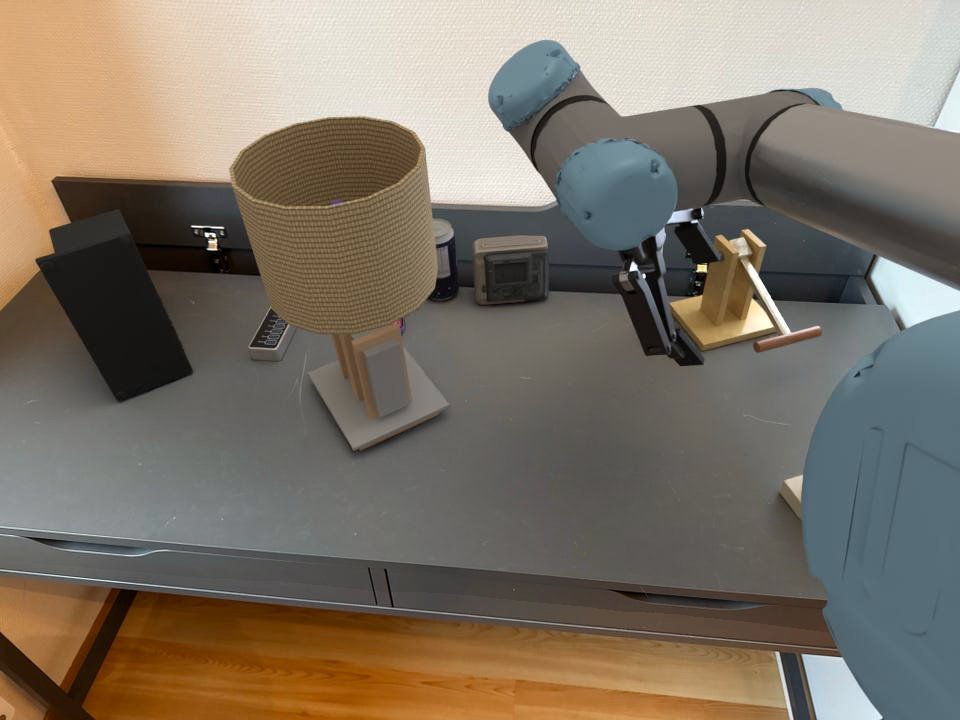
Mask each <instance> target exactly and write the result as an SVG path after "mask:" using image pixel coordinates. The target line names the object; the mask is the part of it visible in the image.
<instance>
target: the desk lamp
mask: <svg viewBox="0 0 960 720" xmlns="http://www.w3.org/2000/svg"><path fill="white" fill-rule="evenodd" d="M426 153H427V152H426V147H425V145H424V143H423V142H422V140H421V139H420V137H419V135H418V134H417V133H416V131H414V130H411V129H410V128H407V127H405V126H403V125H402V124H399V123H397V122H396V121H392V120H388V119H382V118H375V117H371V116H363V115H358V116H357V115H356V116H328V117H327V116H326V117H322V118H317V119H311V120H305V121H301V122H296V123H293V124H290V125H287V126H285V127H281V128H279V129H277V130H275V131H271V132H269V133H266V134H263V135H262V136H261V137H259V138H258V139H256V140H254V141H253V142H252V143H250V144H248V145H247V146H246V147H244V148H243V149H241V150H240V151H239V153H238V154H237V156H236V158H235V159H234V160H233V162H232V164H230V166H229V168H228V171H229V176H230V181H231V187H232V191H233V193H234V196H235V199H236V203H237V207H238V209H239V212H240V215H241V218H242V221H243V225H244V228H245V230H246V234H247V237H248V240H249V243H250V247H251V249H252V252H253V255H254V259H255V262H256V265H257V268H258V271H259V274H260V277H261V281H262V283H263V287H264V290H265V293H266V297H267V300H268V303H269V306H270V307H271V309H272V310H273V311H274V312H275V313H276V314H277V315H279V316H280V317H281V318H282V319H283V320H284V321H285V322H286V323H288V324H289V325H291V326H294V327H297V329H301V330H305V331H308V332H311V333H313V334H317V335H331V338H332V342H333V346H334V349H335V353H336V354H335V355H336V358H337V360H334V361H333V362H330V363H328V364H325V365H323V366H321V367H318V368H316V369H313V370H311V371H308V372H307V375H308V377H309V379H310V380H311V382H312V384H313V385H314V387H315V389H316V391H317V392H318V394H319V395H320V397H321V399H322V400H323V403H324V404H325V405H326V407H327V409H328V410H329V412H330V414H331V415H332V417H333V419H334V420H335V422H336V424H337V425H338V427H339V429H340V431H341V432H342V433H343V434H342V435H344V437H345V439H346V440H347V443H348V444H349V445H350V448H351V449H352V451H353V452H356V451H358V450H359V451H360V452H361V451H363V450H365V449H368V448H369V447H372V446H374V445H376V444H378V443H381V442H383V441H385V440H387V439H389V438H391V437H393V436H396V435H398V434H401V433H403V432H405V431H407V430H409V429H411V428H413V427H416V426H418V425H420V424H422V423H424V422H426V421H428V420H431V419H432V418H435V417H438V416H439V415H440V412H443V411H445V410H446V409H449V408H450V407H451V406H450V403H449V402H448V400H447V399H446V397H444V396H443V394H442V393H441V392H440V391H439V389H438V388H437V386H436V385H435V384H434V383H433V382H432V380H431V379H430V378H429V376H428V375H427V374H426V373H425V372H424V370H423V369H422V368H421V366H420V365H419V363H418V362H417V361H416V360H415V358H414V357H413V356H412V355H411V353H410V352H409V350H407V348H406V347H405V346H404V343H403V337H402V332H401V330H400V327H399V325H398V324H397V323H396V324H393V323H394V322H396V321H398V320H400V319H401V318H403V317H404V318H405V317H406V316H409V315H410V314H412V313H414V312H415V311H418V309H420V307H421V306H422V305H424V303H425V302H426V300H427V299H428V298H429V297H428V296H429V295H430V294H431V293H432V292H433V291H434V289H435V284H436V278H437V272H438V263H437V254H436V245H435V235H434V226H433V219H434V217H433V210H432V209H433V208H432V200H431V191H430V190H431V189H430V181H429V172H428V161H427V154H426ZM391 324H393V325H391ZM389 325H391V326H389Z"/></svg>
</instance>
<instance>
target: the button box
mask: <svg viewBox="0 0 960 720" xmlns="http://www.w3.org/2000/svg"><path fill="white" fill-rule="evenodd" d="M802 481H803V474H800V475H798V476H793V477H790V478H787V479H784V480H783V481H782V484H781V486H780V489H779V491H778V492H779V494H780V495H781V496H782V498H783V499H784V500H785V502H786V503H787V504H788V505H789V507H790V508H791V510H792V511H793V512H794V514H795V515H796V516H797V518H798V519H799V520H800V521H801V522H802V516H801V493H802Z"/></svg>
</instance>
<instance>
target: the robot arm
mask: <svg viewBox="0 0 960 720" xmlns="http://www.w3.org/2000/svg"><path fill="white" fill-rule="evenodd" d="M581 68H582V67H581V65H580V64H579V62H577V61H575V60H574V58H573V57H572V56H571V55H570V53H569V51H567V49H566V48H565V47H564V45H562V44H561V43H560V42H558V41H556V40H552V39H541V40H537V41H534V42H532V43H529V44H527V45H526V46H523V47H522V48H520V49H519V50H518V51H516V52H515V53H514V54H513V55H512V56H511V57H510V58H509V59H508V60H506V61H505V62H504V63H503V64H502V66H501V67H500V68H499V69H498V71H496V74H495V75H494V77H493V78H492V80H491V82H490V85H489V89H488V94H487V101H488V105H489V108H490V110H491V111H492V112H493V114H494V115H495V117H496V118H497V119H498V121H499V122H500V123H501V125H502V129H503V130H504V131H506V132H508V133H509V134H510V136H511V137H512V138H513V140H515V142H516V143H517V145H518V146H519V147H520V148H521V149H522V152H524V154H525V155H526V157H527V158H528V160H529V162H530V163H531V164H532V166H533V167H534V169H535V171H536V172H537V173H538V174H539V176H541V178H542V179H543V181H544V182H545V184H546V185H547V187H548V189H549V190H550V192H551V193H552V195H553V197H554V198H555V201H556V203H557V205H558V206H559V207H558V208H559V210H560V211H561V213H562V214H563V215H564V217H565V218H566V219H567V220H569V222H570V223H571V224H572V225H573V226H575V228H576V229H577V230H578V231H579V232H580V234H581V235H582V236H583V238H585V240H587V241H588V242H589V243H591V244H592V245H594V246H595V247H597V248H600V249H604V250H608V251H617V253H618V255H619V257H620V259H621V262H622V263H623V265H622V268H621V271H620V272H616V273H613V274H612V276H611V282H612V284H613V286H614V287H615V289H616V290H617V292H618V293H619V295H620V296H621V298H622V300H623V303H624V306H625V308H626V311H627V314H628V316H629V319H630V321H631V323H632V326H633V328H634V331H635V334H636V336H637V338H638V342H639V344H640V346H641V349H642V351H643V354H644V356H645V357H654V356H666V357H668V359H670V360H674V361H675V362H676V364H677V365H678V366H679V367H680V368H681V367H692V366H693V367H694V366H695V367H696V366H704V365H705V361H706V360H705V359H706V358H705V357H704V355H702V353H701V352H700V351H699V350H698V348H697V347H696V346H695V345H694V343H692V341H691V339H689V337H688V336H687V335H686V334H685V333H684V331H683V330H682V328H680V327H679V328H676V327H675V323H674V318H673V314H672V313H671V310H670V306H669V303H670V302H669V298H668V293H667V289H666V285H665V281H664V276H665V274H666V272H667V268H666V263H665V260H664V257H663V251H664V243H665V242H666V237H667V234H666V231H665V230H666V228H665V227H667V226H674V225H676V226H674V230H673V233H674V234H675V236H676V237H677V239H678V240H679V241H680V243H681V244H682V246H683V247H684V249H685V250H686V252H687V253H688V254H689V256H690V257H691V259H692V260H693V262H694V263H695V264H696V266H699V265H705V264H706V265H707V264H709V263H712V262H718V261H720V255H719V253H718V252H717V250H716V249H715V247H714V246H713V245H714V243H713V242H712V241H711V239H710V238H709V237H708V235H707V233H706V232H705V230H704V229H703V226H701V224H700V222H699V221H698V220H702V219H704V216H705V213H704V209H703V208H702V207H707V206H713V205H714V206H715V205H719V204H723V203H729V202H735V201H750V202H751V203H754V204H757V205H759V206H762V207H764V208H768V209H770V210H772V211H774V212H777V213H779V214H782V215H784V216H786V217H789V218H791V219H793V220H795V221H797V222H800V223H802V224H805V225H807V226H809V227H812V229H813V228H814V229H816V230H818V231H821V232H823V233H825V234H827V235H830V236H831V237H834V238H837V239H839V240H841V241H844V242H846V243H848V244H850V245H853V246H855V247H858V248H859V249H862V250H864V251H867V252H869V253H871V254H873V255H876V256H878V257H880V258H882V259H885V260H887V261H889V262H891V263H894V264H896V265H899V266H901V267H903V268H905V269H908V270H910V271H912V272H915V273H917V274H919V275H921V276H924V277H926V278H929V279H930V280H933V281H936V282H938V283H940V284H942V285H944V286H946V287H949V288H951V289H953V290H956V291H958V292H960V131H958V130H953V129H948V128H942V127H937V126H931V125H925V124H920V123H913V122H909V121H904V120H899V119H892V118H889V117H883V116H877V115H871V114H867V113H862V112H861V113H860V112H855V111H851V110H850V111H849V110H845V109H844V107H843V105H842V104H841V103H840V102H838V101H836V100H835V99H834V96H833V95H832V93H831V92H829V91H827V90H825V89H822V88H818V87H805V88H804V87H803V88H778V89H771V90H770V91H768V92H765V93H761V94H755V95H749V96H744V97H737V98H733V99H726V100H720V101H714V102H709V103H702V104H694V105H688V106H687V105H686V106H680V107H675V108H667V109H663V110H657V111H650V112H649V111H648V112H643V113H637V114H632V115H624V116H623V115H621V114H620V113H618V111H616V109H614V108H613V106H612V105H611V104H609V103H608V102H607V101H606V99H605V98H603V96H602V95H601V94H600V93H599V92H598V91H597V90H596V89H595V88H594V86H593V85H592V84H591V83H590V81H589V80H588V79H587V77H586V76H585V74H584V72H583V71H582V70H581ZM677 225H678V226H677ZM649 265H654V268H652V269H651V268H650V269H645V270H639V268H638V267H641V266H642V267H645V266H649ZM802 473H803V474H802V475H803V481H802V493H801V516H802V521H801V529H802V540H803V547H804V553H805V557H806V561H807V566H808V570H809V571H808V572H809V575H810V577H811V578H812V579H815V580H818V581H820V582H821V584H822V585H823V587H824V588H825V592H826V596H827V602H826V605H825V606H824V607H823V608H821V609H822V613H821V614H822V616H823V619H824V621H825V623H826V626H827V628H828V630H829V632H830V635H831V637H832V639H833V642H834V644H835V646H836V648H837V651H838V653H839V654H840V656H841V657H842V659H843V661H844V663H845V666H847V668H848V670H849V671H850V674H851V675H852V676H853V678H854V679H855V682H856V683H857V685H858V686H859V688H860V689H861V691H862V692H863V693H864V696H865V697H866V698H867V700H868V701H869V702H870V704H871V705H872V706H873V707H874V709H875V710H876V711H877V712H878V714H879V715H880V716H881V717H882V719H883V720H960V309H959V310H955V311H952V312H948V313H944V314H941V315H938V316H934V317H931V318H928V319H925V320H923V321H920V322H918V323H915V324H912V325H911V326H908V327H906V328H904V329H902V330H900V331H899V332H897V333H895V334H894V335H892V336H891V337H889V338H887V339H886V340H884V341H883V342H881V343H880V344H879V345H878V347H876V348H875V349H874V350H873V351H872V352H870V353H868V354H866V355H865V356H863V357H861V359H859V360H858V361H857V362H856V364H854V365H853V366H852V367H851V368H850V369H849V370H848V371H847V372H846V374H845V375H844V376H843V377H842V379H841V380H840V381H839V383H838V384H837V385H836V387H835V388H834V389H833V391H832V392H831V394H830V396H828V398H827V401H826V402H825V404H824V406H823V408H822V410H821V411H820V414H819V416H818V418H817V421H816V423H815V426H814V428H813V431H812V435H811V437H810V441H809V445H808V449H807V453H806V456H805V461H804V466H803V472H802Z"/></svg>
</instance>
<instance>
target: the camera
mask: <svg viewBox="0 0 960 720" xmlns="http://www.w3.org/2000/svg"><path fill="white" fill-rule="evenodd" d="M471 250H472V252H473V256H472V270H473V271H472V273H473V284H474V293H475V300H476V302H477V303H478V304H479V305H481V306H482V305H496V304H497V305H498V304H507V303H508V304H509V303H520V302H521V303H523V302H528V301H540V300H548V298H549V296H550V244H549V240H548V239H547V237H546V236H544V235H525V234H524V235H523V234H520V235H506V236H496V237H495V236H494V237H484V238H477V239H476V240H475V241H474V242H473V243H472V244H471Z"/></svg>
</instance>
